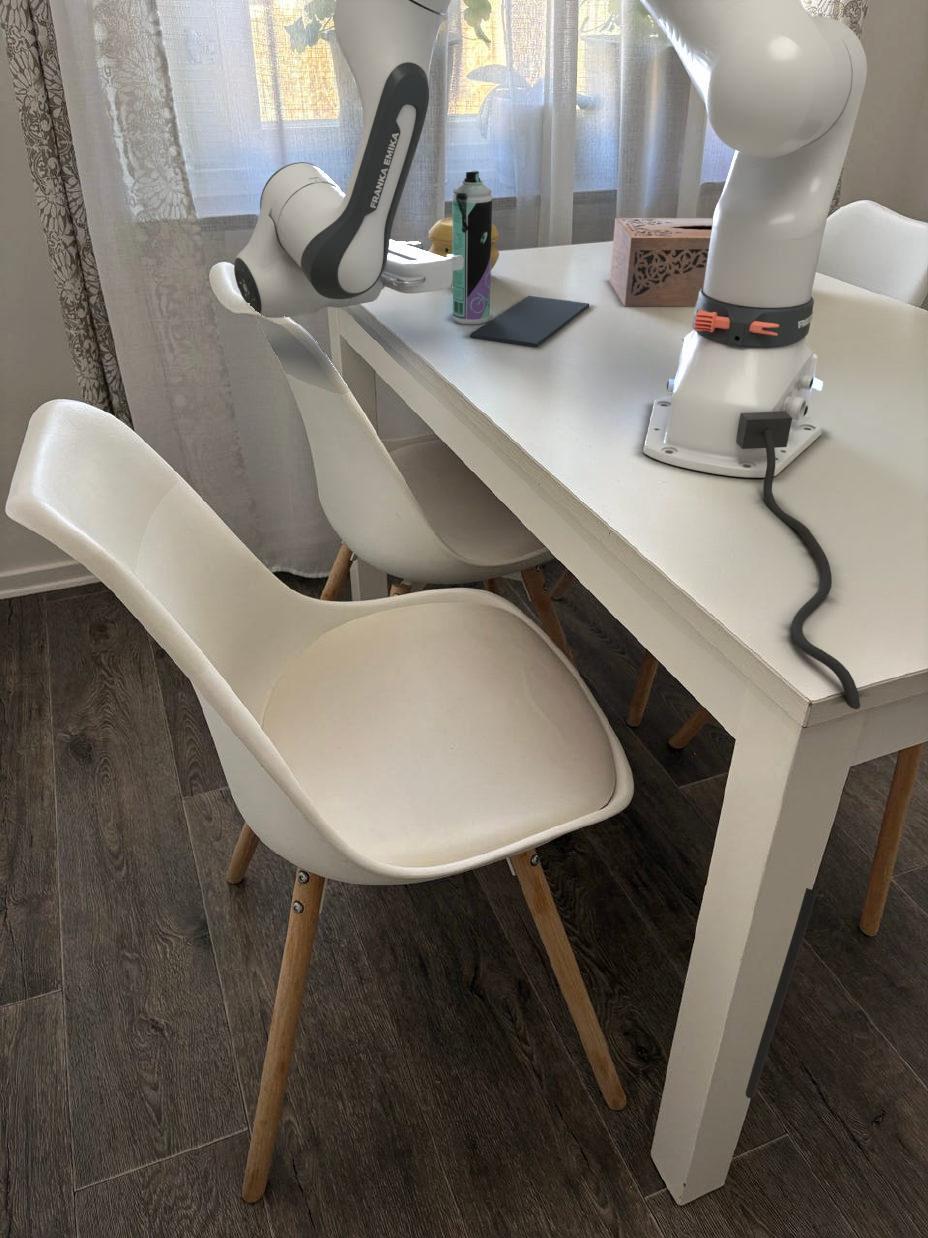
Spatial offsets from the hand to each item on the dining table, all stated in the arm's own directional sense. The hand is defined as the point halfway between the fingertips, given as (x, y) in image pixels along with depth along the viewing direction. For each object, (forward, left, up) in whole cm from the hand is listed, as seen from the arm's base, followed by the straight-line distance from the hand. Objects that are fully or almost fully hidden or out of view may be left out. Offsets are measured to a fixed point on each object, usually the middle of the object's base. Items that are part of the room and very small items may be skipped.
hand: (440, 254), depth 135 cm
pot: (+27, +9, -10) cm, 30 cm away
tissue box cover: (+34, -29, -10) cm, 46 cm away
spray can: (+5, -3, -10) cm, 12 cm away
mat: (+8, -11, -10) cm, 17 cm away
